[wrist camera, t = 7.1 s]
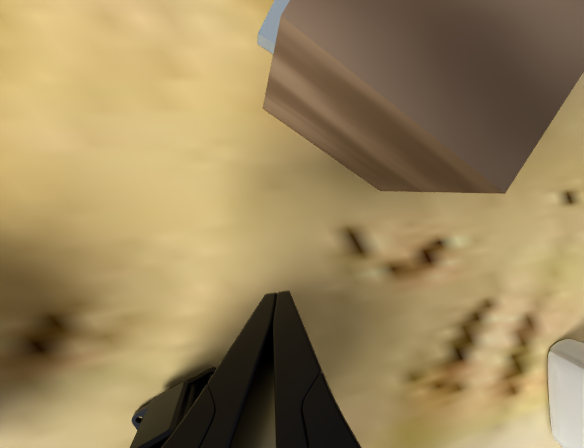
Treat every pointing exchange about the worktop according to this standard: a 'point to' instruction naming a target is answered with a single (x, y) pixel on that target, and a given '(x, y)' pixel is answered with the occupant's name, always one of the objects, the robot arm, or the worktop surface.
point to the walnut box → (426, 85)
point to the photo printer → (567, 392)
